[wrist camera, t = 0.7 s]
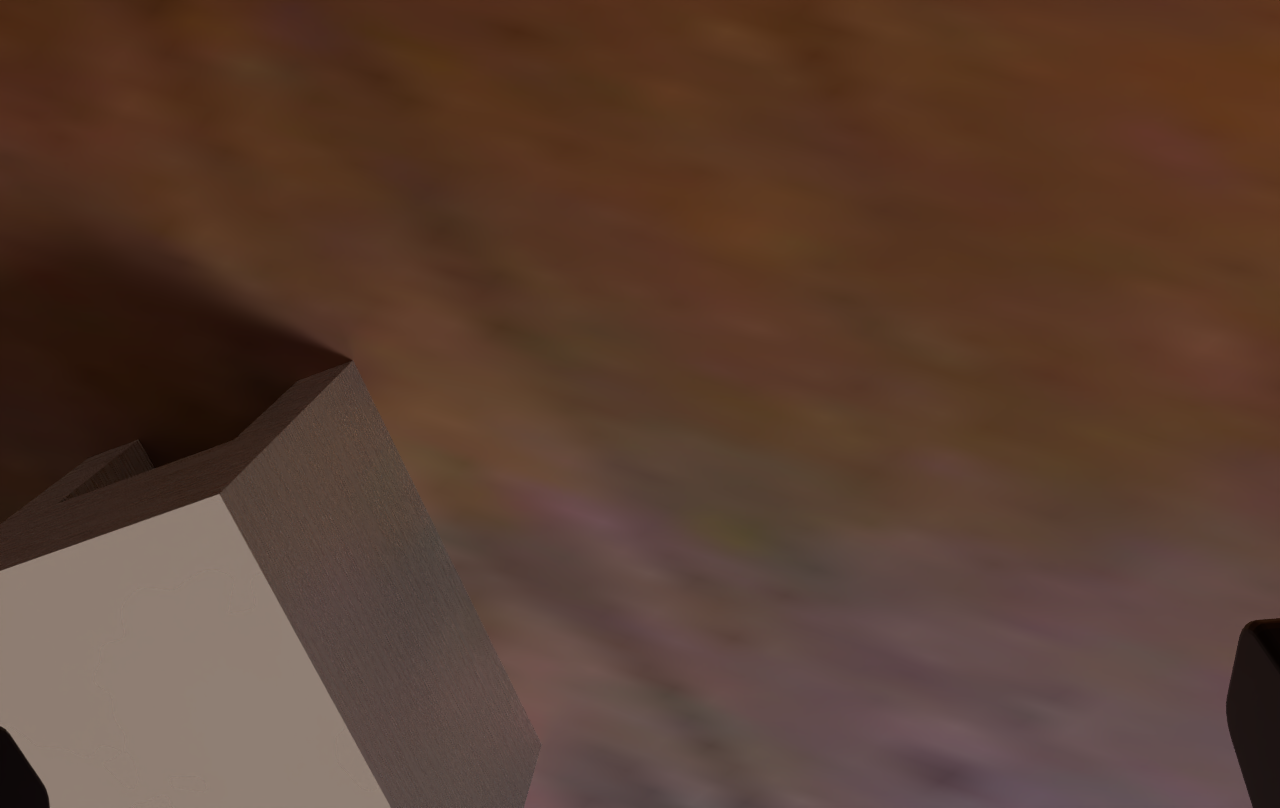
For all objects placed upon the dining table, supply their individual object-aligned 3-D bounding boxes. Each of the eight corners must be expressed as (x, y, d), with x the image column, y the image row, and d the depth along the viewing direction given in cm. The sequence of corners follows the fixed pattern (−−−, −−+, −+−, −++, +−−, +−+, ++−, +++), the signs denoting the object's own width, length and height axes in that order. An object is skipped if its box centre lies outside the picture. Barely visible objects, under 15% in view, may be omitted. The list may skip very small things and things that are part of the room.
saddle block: (541, 742, 25) (478, 967, 20) (294, 812, 27) (170, 1041, 21) (353, 359, 23) (219, 494, 17) (89, 456, 24) (-116, 611, 18)
